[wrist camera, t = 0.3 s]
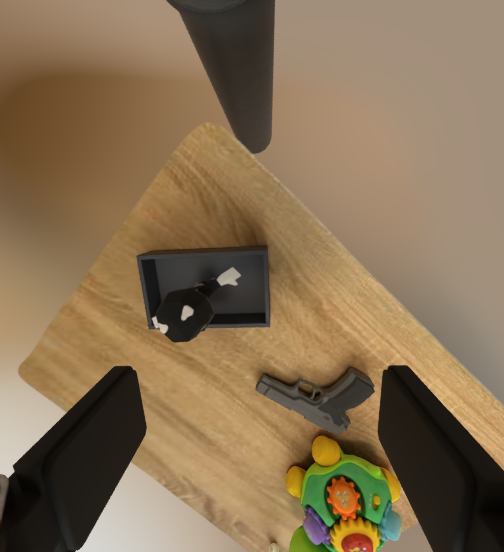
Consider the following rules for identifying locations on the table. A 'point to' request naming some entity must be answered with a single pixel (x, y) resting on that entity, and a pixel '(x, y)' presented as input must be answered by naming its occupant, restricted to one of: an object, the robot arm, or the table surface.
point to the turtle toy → (343, 502)
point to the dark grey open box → (203, 267)
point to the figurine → (273, 548)
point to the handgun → (321, 399)
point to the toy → (190, 308)
